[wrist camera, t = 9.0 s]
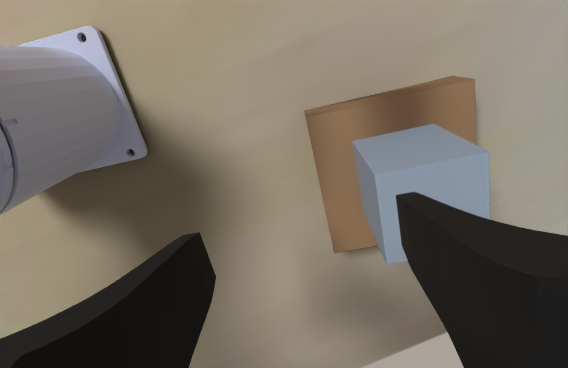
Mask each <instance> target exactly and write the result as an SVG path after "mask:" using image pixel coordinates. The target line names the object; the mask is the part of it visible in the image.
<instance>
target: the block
mask: <svg viewBox="0 0 568 368" xmlns="http://www.w3.org/2000/svg"><path fill="white" fill-rule="evenodd" d="M352 144H353V150H354V156H355V163H356V169H357V175H358V182H359V188H360V194H361V200H362V207H363V212H364V214H365V216H366V219H367V221H368V223H369V225H370V228H371V230H372V232H373V234H374V237H375V239H376V241H377V244H378V246H379V248H380V250H381V253H382V255H383V257H384V259H385V262H386V264H387V265H390V264H396V263H401V262H407V261H408V260H407V257H406V255H405V252H404V250H403V247H402V244H401V235H400V227H399V219H398V211H397V203H396V195H399V194H404V193H409V192H417V193H420V194H422V195H425V196H427V197H430V198H432V199H435V200H437V201H439V202H442V203H444V204H447V205H449V206H452V207H454V208H457V209H460V210H462V211H465V212H468V213H471V214H474V215H477V216H480V217H483V218H486V219H489V220H490V152H489V151H487V150H485V149H483V148H481V147H479V146H477V145H475V144H473V143H471V142H469V141H467V140H465V139H463V138H461V137H459V136H457V135H455V134H453V133H451V132H449V131H447V130H445V129H443V128H441V127H439V126H437V125H435V124H430V125H425V126H420V127H416V128H411V129H406V130H402V131H397V132H392V133H388V134H383V135H379V136H374V137H369V138H365V139H360V140H355V141H352Z"/></svg>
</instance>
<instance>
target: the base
mask: <svg viewBox="0 0 568 368" xmlns="http://www.w3.org/2000/svg"><path fill="white" fill-rule="evenodd" d="M305 116H306V121H307V125H308V130H309V135H310V140H311V144H312V149H313V154H314V159H315V163H316V168H317V173H318V178H319V182H320V187H321V192H322V197H323V201H324V206H325V211H326V216H327V220H328V225H329V230H330V235H331V239H332V244H333V249H334V253H339V252H344V251H350V250H355V249H361V248H366V247H372V246H377V245H378V244H377V241H376V239H375V237H374V234H373V232H372V230H371V228H370V225H369V223H368V221H367V219H366V216H365V214H364V212H363V207H362V200H361V194H360V188H359V182H358V175H357V169H356V163H355V156H354V150H353V144H352V141H355V140H360V139H365V138H369V137H374V136H379V135H383V134H388V133H392V132H397V131H402V130H406V129H411V128H416V127H420V126H425V125H430V124H435V125H437V126H439V127H441V128H443V129H445V130H447V131H449V132H451V133H453V134H455V135H457V136H459V137H461V138H463V139H465V140H467V141H469V142H471V143H473V144H475V145H476V102H475V79H470V78H463V77H456V76H452V77H447V78H443V79H439V80H435V81H430V82H426V83H422V84H417V85H413V86H409V87H405V88H400V89H396V90H392V91H387V92H383V93H379V94H375V95H370V96H366V97H362V98H357V99H353V100H349V101H345V102H340V103H336V104H332V105H327V106H323V107H319V108H315V109H310V110H306V111H305Z"/></svg>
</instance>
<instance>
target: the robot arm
mask: <svg viewBox="0 0 568 368" xmlns="http://www.w3.org/2000/svg"><path fill="white" fill-rule="evenodd" d="M83 33H84V34H85V36H86V41H85V42H83V40H82V38H81V35H82V34H83ZM130 149H132V150H133V151H134V153H135V155H132V154H131V153H130V151H129V150H130ZM147 152H148V150H147V147H146V144H145V142H144V139H143V137H142V134H141V132H140V129H139V127H138V124H137V122H136V119H135V117H134V114H133V112H132V109H131V107H130V104H129V102H128V99H127V97H126V94H125V92H124V89H123V87H122V84H121V82H120V79H119V77H118V74H117V72H116V69H115V67H114V65H113V62H112V60H111V57H110V55H109V52H108V50H107V47H106V45H105V42H104V40H103V37H102V35H101V33H100V31H99V30H98V29H97V28H96V27H94V26H84V27H80V28H77V29H73V30H70V31H66V32H63V33H59V34H56V35H52V36H49V37H45V38H42V39H38V40H35V41H31V42H28V43H24V44H21V45H17V46H0V215H1V214H3V213H4V212H6V211H8V210H10V209H12V208H14V207H15V206H17V205H19V204H21V203H23V202H25V201H26V200H28V199H30V198H32V197H34V196H35V195H37V194H39V193H41V192H43V191H45V190H46V189H48V188H50V187H52V186H54V185H56V184H57V183H59V182H61V181H63V180H65V179H67V178H68V177H70V176H72V175H74V174H76V173H79V172H84V171H88V170H92V169H97V168H101V167H106V166H110V165H114V164H119V163H123V162H127V161H132V160H136V159H140V158H143V157H145V156H146V155H147ZM396 203H397V211H398V219H399V227H400V235H401V244H402V247H403V250H404V252H405V255H406V257H407V260H408V262H409V265H410V267H411V269H412V271H413V273H414V274H415V276H416V278H417V280H418V281H419V283H420V285H421V287H422V288H423V290H424V292H425V293H426V295H427V297H428V298H429V300H430V302H431V304H432V305H433V307H434V309H435V310H436V312H437V314H438V315H439V317H440V319H441V321H442V322H443V324H444V326H445V328H446V330H447V332H448V334H449V335H450V338H451V340H452V342H453V344H454V346H455V349H456V351H457V353H458V355H459V357H460V360H461V362H462V364H463V366H464V368H568V236H565V235H559V234H553V233H547V232H541V231H535V230H530V229H525V228H521V227H516V226H512V225H508V224H504V223H500V222H496V221H493V220H489V219H486V218H483V217H480V216H477V215H474V214H471V213H468V212H465V211H462V210H460V209H457V208H454V207H452V206H449V205H447V204H444V203H442V202H439V201H437V200H435V199H432V198H430V197H427V196H425V195H422V194H420V193H417V192H409V193H404V194H399V195H396ZM215 280H216V275H215V273H214V270H213V267H212V265H211V262H210V259H209V257H208V254H207V251H206V249H205V246H204V243H203V241H202V238H201V235H200V233H199V232H198V233H193V234H187V235H183V236H181V237H180V238H178V239H176V240H175V241H173V242H172V243H170V244H169V245H167V246H166V247H164V248H163V249H162V250H160V251H159V252H157V253H156V254H155V255H153V256H152V257H150V258H149V259H148V260H146V261H145V262H143V263H142V264H141V265H139V266H138V267H136V268H135V269H133V270H132V271H130V272H129V273H127V274H126V275H125V276H123V277H122V278H120V279H119V280H117V281H116V282H114V283H112V284H111V285H109V286H108V287H106V288H104V289H103V290H101V291H99V292H98V293H96V294H94V295H92V296H91V297H89V298H87V299H85V300H84V301H82V302H80V303H78V304H76V305H74V306H72V307H70V308H68V309H66V310H64V311H62V312H60V313H58V314H56V315H54V316H52V317H50V318H48V319H46V320H44V321H41V322H39V323H37V324H35V325H32V326H30V327H28V328H26V329H23V330H21V331H18V332H16V333H14V334H11V335H9V336H6V337H4V338H1V339H0V368H189V365H190V362H191V358H192V355H193V352H194V350H195V347H196V344H197V341H198V338H199V336H200V333H201V330H202V327H203V324H204V322H205V319H206V316H207V313H208V310H209V307H210V304H211V301H212V296H213V292H214V286H215Z"/></svg>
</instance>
